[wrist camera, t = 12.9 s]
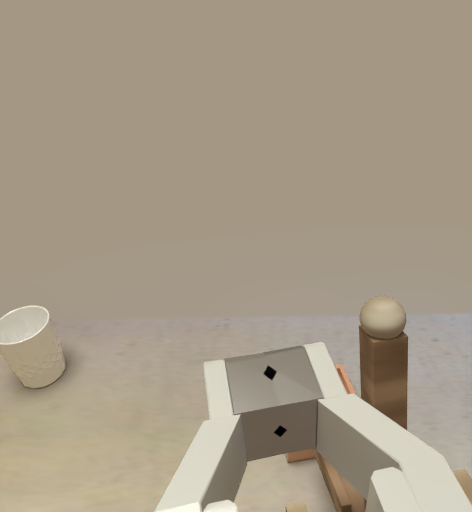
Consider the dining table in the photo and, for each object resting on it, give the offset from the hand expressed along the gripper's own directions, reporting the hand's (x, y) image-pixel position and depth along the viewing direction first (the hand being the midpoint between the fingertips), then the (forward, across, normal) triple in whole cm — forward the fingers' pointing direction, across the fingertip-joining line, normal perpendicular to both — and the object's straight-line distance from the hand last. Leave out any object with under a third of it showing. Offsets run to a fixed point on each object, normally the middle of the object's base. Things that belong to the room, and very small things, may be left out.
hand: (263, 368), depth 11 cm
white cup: (+43, -28, -42) cm, 66 cm away
